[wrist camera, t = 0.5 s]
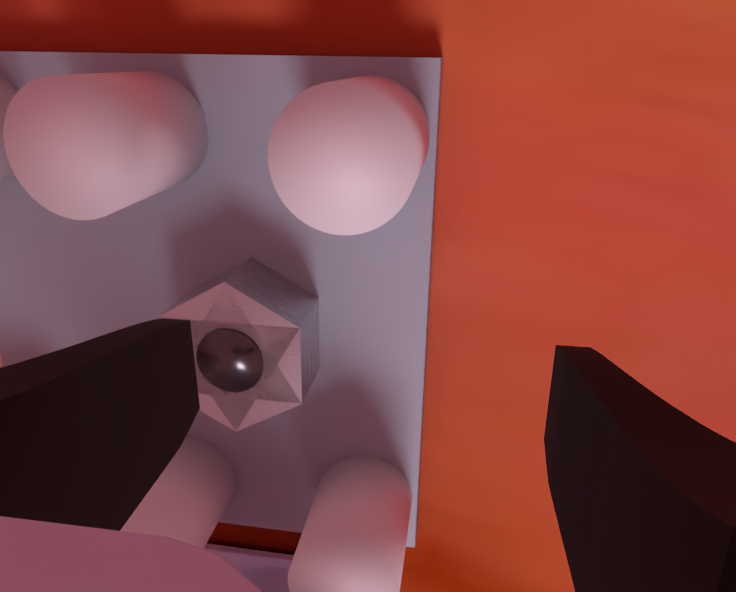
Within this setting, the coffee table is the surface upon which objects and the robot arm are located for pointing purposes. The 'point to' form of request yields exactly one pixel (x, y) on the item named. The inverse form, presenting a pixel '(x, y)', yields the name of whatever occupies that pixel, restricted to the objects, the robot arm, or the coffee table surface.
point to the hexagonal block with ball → (251, 342)
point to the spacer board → (230, 247)
